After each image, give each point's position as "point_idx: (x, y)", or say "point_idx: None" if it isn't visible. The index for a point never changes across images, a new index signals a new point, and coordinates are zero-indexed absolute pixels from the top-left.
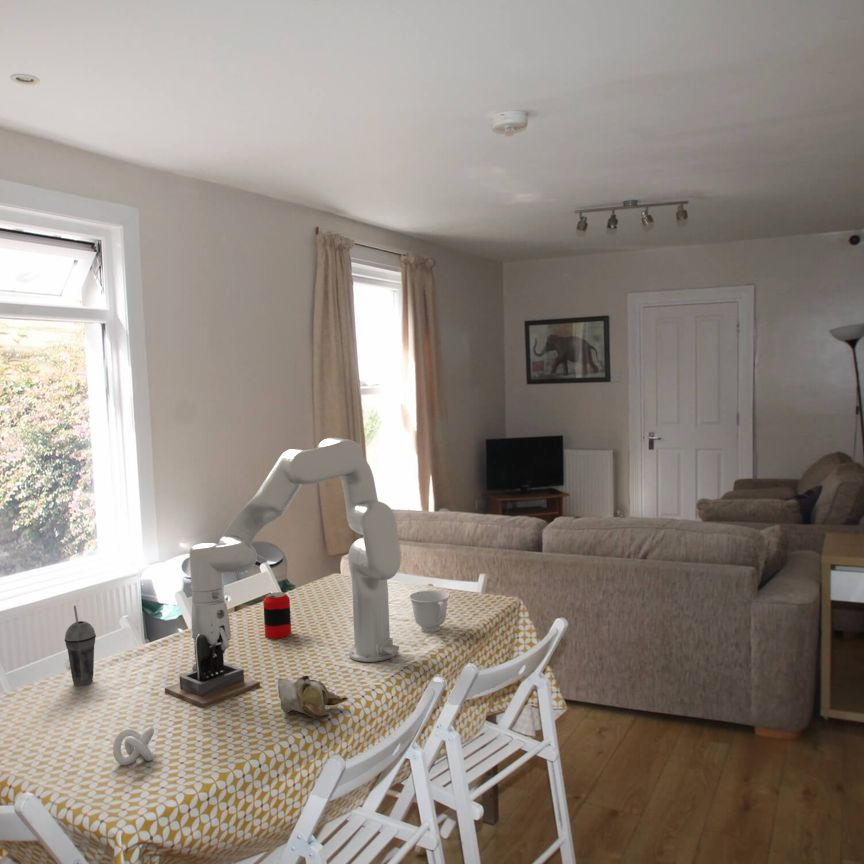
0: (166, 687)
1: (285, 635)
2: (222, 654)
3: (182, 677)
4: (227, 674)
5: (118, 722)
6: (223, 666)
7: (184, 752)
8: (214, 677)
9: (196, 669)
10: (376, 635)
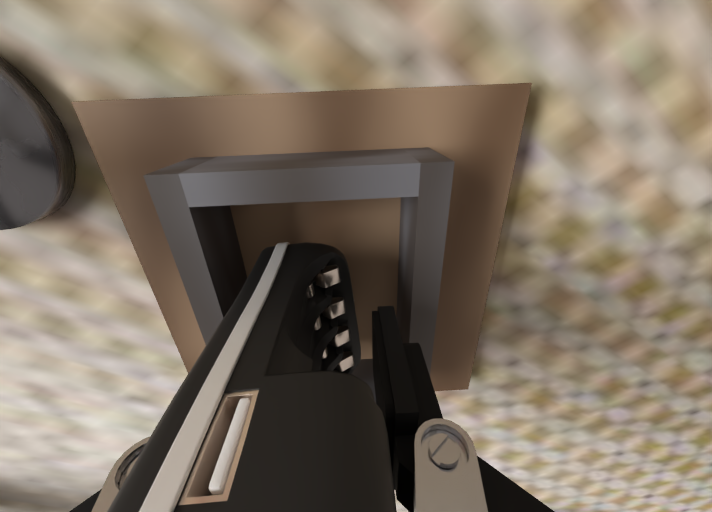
0: None
1: None
2: (453, 437)
3: None
4: (430, 288)
5: None
6: (395, 319)
7: (622, 483)
8: (356, 318)
9: (7, 223)
10: None
